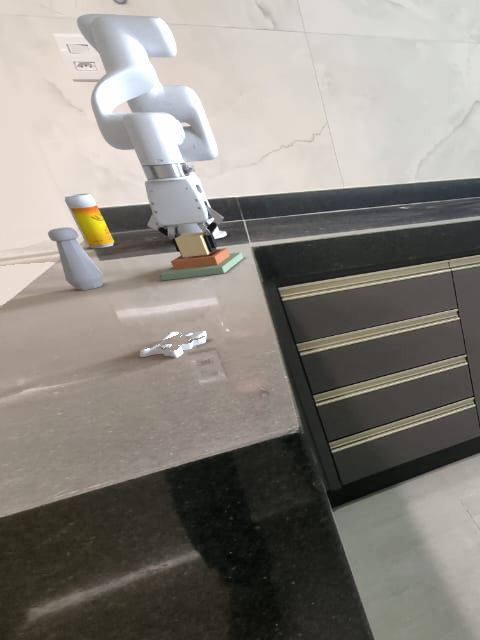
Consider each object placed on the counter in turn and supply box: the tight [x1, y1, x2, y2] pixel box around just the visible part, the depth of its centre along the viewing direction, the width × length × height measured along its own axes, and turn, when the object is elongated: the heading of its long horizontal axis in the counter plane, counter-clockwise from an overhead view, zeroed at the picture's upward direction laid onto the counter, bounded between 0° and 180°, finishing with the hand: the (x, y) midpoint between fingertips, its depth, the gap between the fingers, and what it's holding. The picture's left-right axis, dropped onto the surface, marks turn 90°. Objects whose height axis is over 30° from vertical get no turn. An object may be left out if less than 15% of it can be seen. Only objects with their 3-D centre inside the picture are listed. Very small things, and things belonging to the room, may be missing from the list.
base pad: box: [159, 247, 244, 282], centre depth 128 cm, size 16×12×4 cm
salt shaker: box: [47, 226, 104, 291], centre depth 114 cm, size 6×6×13 cm
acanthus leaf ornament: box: [139, 330, 207, 359], centre depth 82 cm, size 8×7×2 cm
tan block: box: [175, 232, 211, 257], centre depth 126 cm, size 6×5×4 cm
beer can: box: [64, 193, 115, 249], centre depth 156 cm, size 6×6×15 cm
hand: (198, 251), depth 127 cm, fingers closed on tan block, 4 cm apart
